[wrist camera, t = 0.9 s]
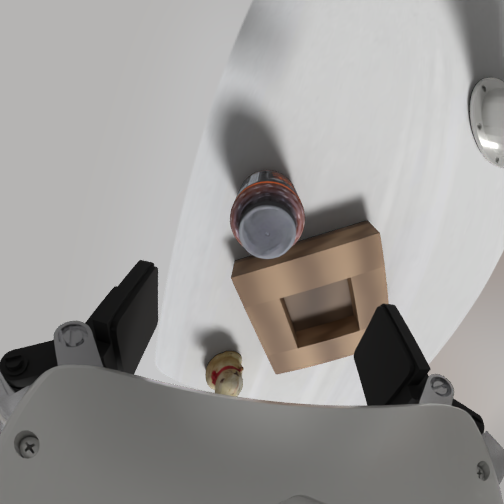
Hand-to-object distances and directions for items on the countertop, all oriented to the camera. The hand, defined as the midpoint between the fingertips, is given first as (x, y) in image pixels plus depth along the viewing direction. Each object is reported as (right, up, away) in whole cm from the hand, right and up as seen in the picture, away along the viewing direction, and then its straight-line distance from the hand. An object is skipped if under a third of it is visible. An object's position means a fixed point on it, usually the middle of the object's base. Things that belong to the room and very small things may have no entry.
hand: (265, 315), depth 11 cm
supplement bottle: (+1, +8, +18) cm, 20 cm away
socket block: (+8, -3, +23) cm, 25 cm away
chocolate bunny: (-5, -14, +29) cm, 33 cm away
